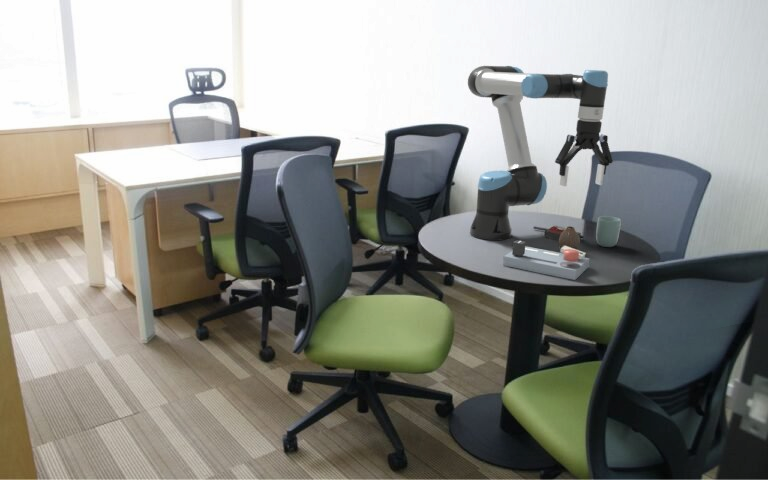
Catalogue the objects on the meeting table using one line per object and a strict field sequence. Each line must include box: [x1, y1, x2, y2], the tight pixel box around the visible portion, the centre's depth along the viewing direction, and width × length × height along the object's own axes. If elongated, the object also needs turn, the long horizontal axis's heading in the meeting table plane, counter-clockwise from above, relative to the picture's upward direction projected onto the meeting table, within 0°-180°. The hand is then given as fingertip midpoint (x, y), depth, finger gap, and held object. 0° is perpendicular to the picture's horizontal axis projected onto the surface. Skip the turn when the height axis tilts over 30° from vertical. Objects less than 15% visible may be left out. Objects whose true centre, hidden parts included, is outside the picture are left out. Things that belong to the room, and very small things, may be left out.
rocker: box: [559, 246, 587, 259], centre depth 202 cm, size 7×4×1 cm, turn 58°
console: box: [502, 245, 590, 281], centre depth 203 cm, size 23×15×4 cm, turn 58°
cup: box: [595, 215, 622, 248], centre depth 227 cm, size 8×8×10 cm
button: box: [563, 249, 580, 262], centre depth 194 cm, size 4×4×3 cm
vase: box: [558, 225, 581, 250], centre depth 218 cm, size 7×7×9 cm
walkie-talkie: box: [533, 225, 585, 241], centre depth 238 cm, size 9×4×20 cm
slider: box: [511, 240, 527, 256], centre depth 203 cm, size 3×3×4 cm
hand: (580, 185), depth 210 cm, fingers open, 13 cm apart
